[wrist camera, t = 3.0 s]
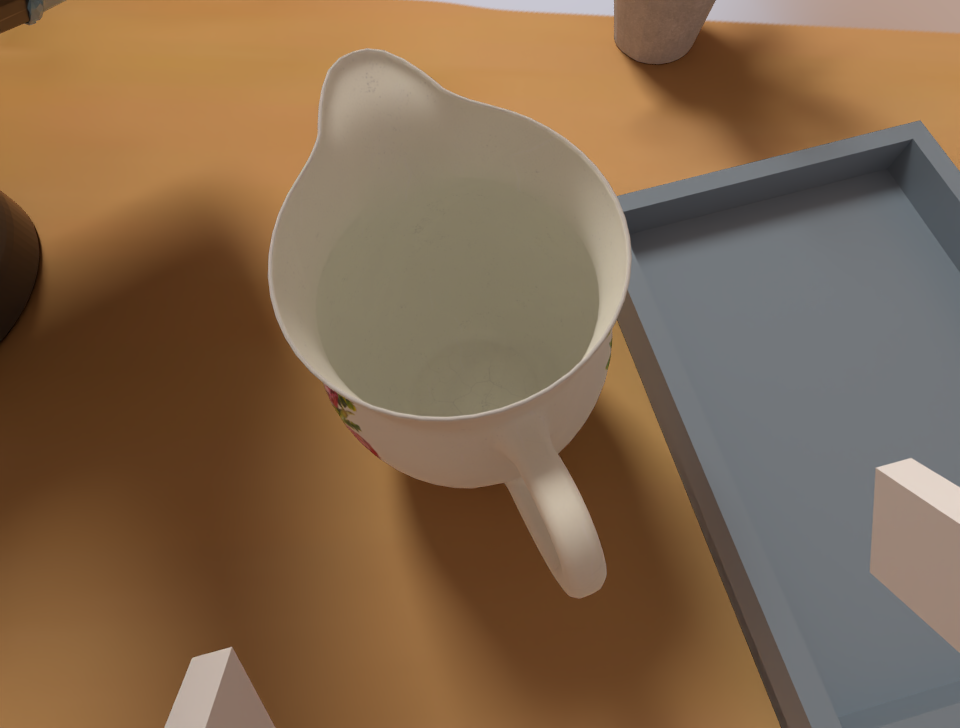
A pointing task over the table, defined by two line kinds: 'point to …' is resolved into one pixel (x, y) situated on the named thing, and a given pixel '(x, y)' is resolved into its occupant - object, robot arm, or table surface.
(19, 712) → the table surface
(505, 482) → the pitcher
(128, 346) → the table surface
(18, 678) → the table surface
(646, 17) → the house plant
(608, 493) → the table surface
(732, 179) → the tray
